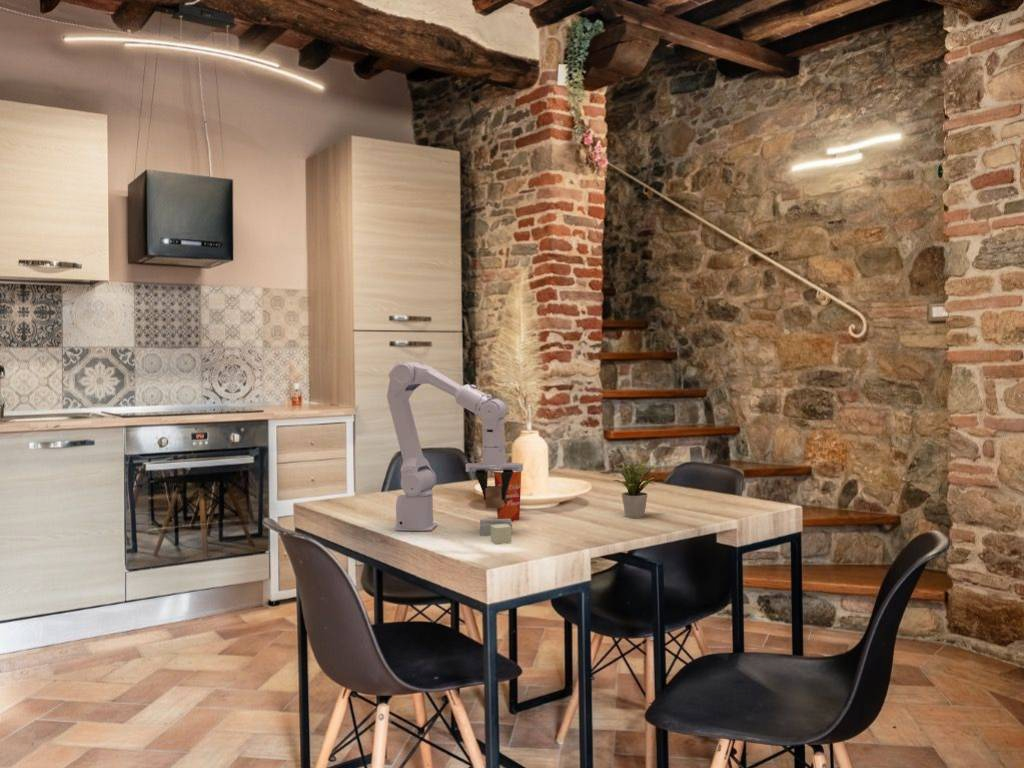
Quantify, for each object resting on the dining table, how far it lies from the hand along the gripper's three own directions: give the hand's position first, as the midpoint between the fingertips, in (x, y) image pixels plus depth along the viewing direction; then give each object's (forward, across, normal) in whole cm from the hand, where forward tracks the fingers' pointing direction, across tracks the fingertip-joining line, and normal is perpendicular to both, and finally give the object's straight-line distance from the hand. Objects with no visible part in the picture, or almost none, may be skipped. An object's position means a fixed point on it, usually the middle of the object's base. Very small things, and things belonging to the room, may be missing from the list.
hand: (494, 499), depth 211 cm
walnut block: (+2, 0, 0) cm, 2 cm away
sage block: (+9, +3, -11) cm, 14 cm away
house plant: (+9, +36, +21) cm, 43 cm away
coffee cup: (+9, +1, +17) cm, 19 cm away
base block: (+9, 0, 0) cm, 9 cm away
